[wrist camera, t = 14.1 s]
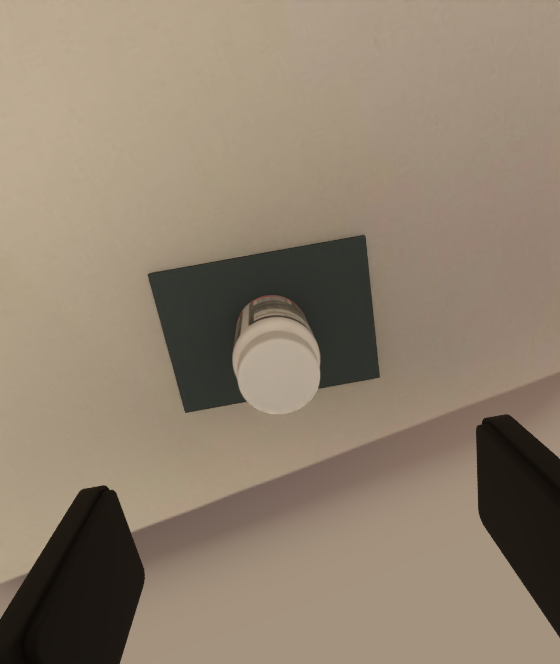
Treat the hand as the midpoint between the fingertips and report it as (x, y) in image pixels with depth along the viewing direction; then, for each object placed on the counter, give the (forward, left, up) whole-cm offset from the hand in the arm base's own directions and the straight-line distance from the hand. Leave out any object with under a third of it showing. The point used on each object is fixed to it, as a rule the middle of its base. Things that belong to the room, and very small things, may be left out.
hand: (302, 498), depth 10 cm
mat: (0, +1, -18) cm, 18 cm away
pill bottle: (0, +1, -18) cm, 18 cm away
